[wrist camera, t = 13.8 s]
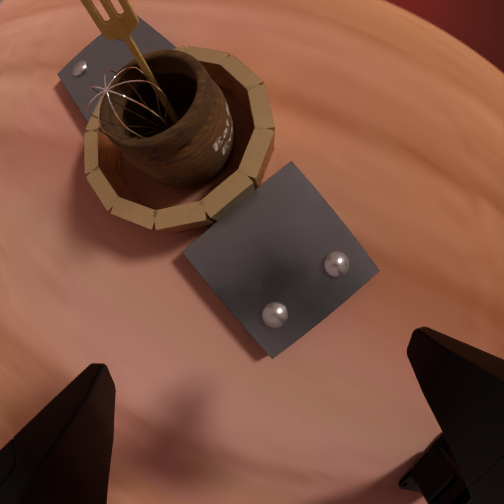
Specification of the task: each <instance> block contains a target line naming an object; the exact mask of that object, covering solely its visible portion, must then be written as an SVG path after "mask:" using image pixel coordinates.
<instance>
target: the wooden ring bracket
mask: <svg viewBox="0 0 504 504" xmlns="http://www.w3.org/2000/svg"><path fill="white" fill-rule="evenodd" d="M137 17H138V16H137ZM138 19H139V23H138V26H137V27H136V28H135V29H134V30H133V32H132V33H131V37H132V39H133V41H134V42H135V44H136V46H137V47H138V49H139V51H140V53H141V54H142V55H143V54H146V53H149V52H152V51H157V50H165V49H170V50H178V51H182V52H185V53H188V54H189V55H191V56H193V57H194V58H196V59H197V60H198V61H199V62H200V63H201V65H202V66H203V67H204V68H205V69H206V71H207V72H208V74H209V76H210V78H211V79H212V80H213V81H214V82H215V83H216V84H217V85H218V86H219V87H221V88H225V89H228V90H229V91H230V92H231V93H232V94H233V95H234V96H235V97H236V98H237V99H238V100H239V101H240V102H241V103H242V104H243V105H244V106H245V107H246V108H247V109H248V110H249V111H250V112H251V116H252V121H253V126H254V131H253V134H252V136H251V138H250V141H249V143H248V146H247V148H246V151H245V153H244V156H243V158H242V161H241V163H240V166H239V168H238V170H237V171H235V172H234V173H233V174H232V175H231V176H229V177H228V178H227V179H226V180H224V181H223V182H222V183H221V184H220V185H218V186H217V187H216V188H215V189H214V190H212V191H211V192H210V193H209V194H208V195H207V196H205V197H204V198H203V199H202V200H201V201H197V202H192V203H187V204H182V205H178V206H173V207H168V208H164V209H159V210H156V209H153V208H150V207H147V206H145V205H142V204H140V203H139V201H138V200H137V199H136V197H135V196H134V194H133V193H132V192H131V190H130V189H129V187H128V186H127V185H126V183H125V182H124V180H123V179H122V178H121V165H120V150H119V149H118V148H117V147H116V146H115V145H114V144H113V143H112V142H111V141H110V139H109V138H108V137H107V135H106V134H105V132H104V131H103V130H102V129H101V127H100V125H99V120H98V119H97V118H98V110H99V105H100V102H101V99H102V95H99V96H97V97H96V98H95V99H94V100H93V101H92V102H91V104H90V106H89V112H90V113H91V114H92V115H94V116H96V117H97V118H95V117H93V116H91V115H90V114H89V113H88V105H89V103H90V101H91V100H92V99H93V98H94V97H95V96H96V95H98V93H97V92H95V91H94V90H92V88H91V87H92V86H98V87H102V88H105V83H104V76H105V73H106V71H108V70H113V71H115V72H116V73H117V72H118V71H119V70H120V69H121V68H122V67H124V66H125V65H126V64H127V63H129V62H130V61H132V60H133V59H135V58H134V56H133V55H132V53H131V51H130V50H129V48H128V47H127V45H126V43H125V42H124V40H122V39H109V40H108V39H106V38H105V37H104V36H103V34H101V35H100V36H98V37H97V38H96V39H95V40H94V41H92V42H91V43H90V44H89V45H88V46H87V47H85V48H84V49H83V50H82V51H81V52H80V53H79V54H78V55H77V56H75V57H74V58H73V59H72V60H71V61H70V62H69V63H68V64H67V65H66V66H65V67H64V68H63V69H62V70H61V71H60V72H59V73H58V74H57V75H58V76H59V78H60V79H61V81H62V83H63V84H64V86H65V87H66V89H67V91H68V92H69V94H70V95H71V97H72V99H73V100H74V102H75V103H76V105H77V106H78V108H79V109H80V111H81V112H82V114H83V116H84V117H85V119H86V120H87V122H88V125H87V127H86V129H85V130H87V131H88V132H86V133H84V163H85V174H86V175H88V176H87V177H86V178H87V180H88V182H89V183H90V185H91V186H92V188H93V190H94V191H95V193H96V194H97V196H98V197H99V199H100V200H101V202H102V203H103V205H104V207H105V208H106V210H107V211H109V212H111V213H110V214H113V215H115V216H118V217H120V218H123V219H125V220H128V221H131V222H133V223H136V224H138V225H141V226H143V227H146V228H148V229H151V230H157V231H164V232H173V233H174V232H180V231H185V230H190V229H195V228H200V227H206V226H211V225H213V226H211V227H210V228H209V229H208V230H207V231H206V232H204V233H203V234H202V235H201V236H200V237H199V238H197V239H196V240H195V241H194V242H193V243H192V244H191V245H189V246H188V247H187V248H186V249H185V250H184V251H183V254H184V255H185V256H186V257H187V259H188V260H189V261H190V262H191V264H192V265H193V266H194V267H195V269H196V270H197V271H198V272H199V274H200V275H201V276H202V277H203V279H204V280H205V281H206V282H207V283H208V285H209V286H210V287H211V288H212V290H213V291H214V292H215V293H216V294H217V296H218V297H219V298H220V299H221V300H222V302H223V303H224V304H225V305H226V306H227V308H228V309H229V310H230V311H231V312H232V314H233V315H234V316H235V317H236V318H237V319H238V321H239V322H240V323H241V324H242V325H243V326H244V328H245V329H246V330H247V331H248V332H249V333H250V335H251V336H252V337H253V338H254V339H255V340H256V341H257V343H258V344H259V345H260V346H261V347H262V348H263V349H264V351H265V352H266V353H267V354H268V355H269V356H270V357H271V358H272V359H273V358H274V357H276V356H277V355H278V354H280V353H281V352H282V351H284V350H285V349H286V348H288V347H289V346H290V345H292V344H293V343H294V342H296V341H297V340H298V339H299V338H301V337H302V336H303V335H304V334H306V333H307V332H308V331H310V330H311V329H312V328H313V327H315V326H316V325H317V324H318V323H320V322H321V321H322V320H323V319H324V318H326V317H327V316H328V315H329V314H331V313H332V312H333V311H334V310H335V309H337V308H338V307H339V306H340V305H341V304H342V303H344V302H345V301H346V300H347V299H348V298H349V297H351V296H352V295H353V294H354V293H355V292H356V291H357V290H359V289H360V288H361V287H362V286H363V285H364V284H365V283H367V282H368V281H369V280H370V279H371V278H372V277H373V276H374V275H375V274H376V273H378V272H379V271H380V270H379V269H378V267H377V266H376V265H375V263H374V262H373V261H372V259H371V258H370V257H369V255H368V254H367V253H366V251H365V250H364V249H363V247H362V246H361V245H360V243H359V242H358V241H357V239H356V238H355V237H354V235H353V234H352V233H351V232H350V230H349V229H348V228H347V227H346V225H345V224H344V223H343V221H342V220H341V219H340V218H339V216H338V215H337V214H336V213H335V212H334V210H333V209H332V208H331V207H330V205H329V204H328V203H327V202H326V201H325V199H324V198H323V197H322V196H321V195H320V193H319V192H318V191H317V190H316V189H315V187H314V186H313V185H312V184H311V183H310V182H309V180H308V179H307V178H306V177H305V176H304V175H303V174H302V172H301V171H300V170H299V169H298V168H297V167H296V166H295V164H294V163H293V162H292V161H291V162H289V163H288V164H287V165H286V166H284V167H283V168H282V169H281V170H279V171H278V172H277V173H276V174H274V175H273V176H272V177H271V178H269V179H268V180H267V181H266V182H264V183H263V184H262V185H261V186H260V184H261V181H262V179H263V176H264V174H265V171H266V168H267V166H268V163H269V160H270V158H271V155H272V153H273V150H274V136H275V125H274V121H273V116H272V112H271V107H270V103H269V98H268V94H267V90H266V86H265V84H263V80H262V79H260V78H259V77H258V76H257V75H256V74H255V73H254V72H253V71H252V70H250V69H249V68H248V67H247V66H246V65H245V64H243V63H242V62H241V61H240V60H239V59H238V58H236V57H235V56H234V55H233V54H232V55H231V56H230V54H229V53H228V52H223V51H218V50H212V49H206V48H200V47H193V46H188V47H187V49H186V48H185V46H183V47H179V48H176V47H175V46H174V45H173V44H171V43H170V42H169V41H168V40H167V39H166V38H164V37H163V36H162V35H161V34H159V33H158V32H157V31H156V30H155V29H153V28H152V27H151V26H150V25H148V24H147V23H146V22H145V21H143V20H142V19H141V18H139V17H138ZM114 76H115V73H114V72H112V71H109V72H107V74H106V86H107V85H108V84H109V82H110V81H111V79H112V78H113V77H114ZM93 89H95V90H96V91H98V92H99V93H100V92H102V91H104V90H103V89H99V88H95V87H93ZM103 93H104V92H103ZM103 93H101V94H103ZM100 123H101V122H100ZM255 189H256V190H255ZM216 221H217V222H216Z"/></svg>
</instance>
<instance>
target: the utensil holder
mask: <svg viewBox="0 0 504 504" xmlns="http://www.w3.org/2000/svg"><path fill="white" fill-rule="evenodd" d="M118 1H119V2H120V4H121V6H122V8H123V10H124V13H122V14H118V13H117V12H116V10H115V8H114V6H113V5H112V3H111V1H110V0H100V2H101V3H102V5H103V7H104V9H105V10H106V12H107V14H108V15H109V17H110V20H108V21H104V20H103V18H102V17H101V15H100V14H99V12H98V10H97V9H96V7H95V6H94V4H93V3H92V1H91V0H81V2H82V3H83V5H84V6H85V8H86V10H87V11H88V13H89V14H90V16H91V17H92V19H93V20H94V22H95V24H96V25H97V27H98V28H99V30H100V31H101V33H102V34H103V36H104V37H105V38H106V39H108V40H109V39H122V40H124V42H125V43H126V45H127V47H128V48H129V50H130V51H131V53H132V55H133V56H134V58H135V59H133V60H132V61H130V62H129V63H127V64H126V65H125V66H124V67H122V68H121V69H120V70H119V71H118V72H117V73H116V72H115V71H113V70H108V71H106V73H105V76H104V83H105V88H102V87H98V86H92V87H91V88H92V90H94V91H95V92H97V93H98V95H96V96H95V97H94V98H93V99H92V100H91V101H90V103H89V105H88V113H89V114H90V115H91V116H93V117H95V118H97V117H96V116H94V115H92V114H91V113H90V112H89V106H90V104H91V102H92V101H93V100H94V99H95V98H96V97H97V96H99V95H102V99H101V102H100V105H99V110H98V118H97V119H98V120H99V125H100V127H101V129H102V130H103V131H104V132H105V134H106V135H107V137H108V138H109V139H110V141H111V142H112V143H113V144H114V145H115V146H116V147H117V148H118V149H119V150H120V151H121V153H122V154H123V156H124V157H125V158H126V159H127V160H128V161H129V162H130V163H131V164H132V165H133V166H135V167H136V168H138V169H139V170H141V171H142V172H144V173H145V174H147V175H149V176H151V177H152V178H154V179H156V180H158V181H160V182H162V183H164V184H167V185H169V186H174V187H181V188H187V187H194V186H198V185H201V184H204V183H206V182H208V181H210V180H211V179H213V178H214V177H215V176H217V175H218V174H219V173H220V172H221V171H222V170H223V169H224V168H225V166H226V165H227V163H228V162H229V160H230V158H231V156H232V153H233V150H234V145H235V130H234V125H233V121H232V117H231V114H230V111H229V108H228V105H227V102H226V100H225V97H224V95H223V93H222V91H221V90H220V88H219V86H218V85H217V84H216V83H215V82H214V81H213V80H212V79H211V78H210V76H209V74H208V72H207V71H206V69H205V68H204V67H203V66H202V65H201V63H200V62H199V61H198V60H197V59H196V58H194V57H193V56H191V55H189V54H188V53H185V52H182V51H178V50H170V49H165V50H157V51H152V52H149V53H146V54H143V55H142V54H141V53H140V51H139V49H138V47H137V46H136V44H135V42H134V41H133V39H132V37H131V33H132V32H133V30H134V29H135V28H136V27H137V26H138V23H139V19H138V17H137V15H136V14H135V12H134V10H133V8H132V6H131V4H130V3H129V1H128V0H118ZM109 71H112V72H114V73H115V76H114V77H113V78H112V79H111V81H110V82H109V84H108V85H107V86H106V74H107V72H109ZM93 87H95V88H99V89H103V90H104V91H102V92H100V93H99V92H98V91H96V90H95V89H93ZM103 92H104V93H103ZM101 93H103V94H101ZM100 122H101V123H100Z"/></svg>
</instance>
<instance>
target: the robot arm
mask: <svg viewBox="0 0 504 504" xmlns="http://www.w3.org/2000/svg"><path fill="white" fill-rule="evenodd" d="M407 356H408V359H409V361H410V363H411V366H412V368H413V370H414V373H415V375H416V378H417V380H418V382H419V385H420V387H421V390H422V392H423V394H424V396H425V398H426V400H427V402H428V404H429V406H430V408H431V410H432V412H433V414H434V416H435V418H436V420H437V422H438V424H439V426H440V428H441V430H442V432H443V434H442V435H441V437H440V438H439V439H438V440H437V442H436V443H435V444H434V445H433V446H432V448H431V449H430V450H429V451H428V452H427V453H426V455H425V456H424V457H423V458H422V459H421V460H420V461H419V462H418V463H417V464H416V466H415V467H414V468H413V469H412V470H411V471H410V472H409V473H408V474H407V475H406V476H405V477H404V478H403V479H402V480H401V481H400V482H399V487H400V488H401V489H407V490H413V491H419V492H421V493H422V495H423V496H424V498H425V500H426V501H427V503H428V504H504V360H503V359H501V358H498V357H496V356H494V355H491V354H489V353H487V352H484V351H482V350H480V349H477V348H475V347H473V346H470V345H468V344H466V343H463V342H461V341H459V340H456V339H454V338H452V337H449V336H447V335H444V334H442V333H440V332H437V331H435V330H433V329H430V328H428V327H421V328H417V329H415V330H414V331H413V333H412V336H411V339H410V342H409V345H408V347H407ZM115 393H116V390H115V384H114V382H113V379H112V377H111V375H110V372H109V370H108V368H107V366H106V365H105V364H101V363H92V364H90V365H89V366H88V367H87V368H86V369H85V370H84V371H83V372H81V373H80V374H79V375H78V376H77V377H76V378H75V379H74V380H73V381H72V382H71V383H70V384H69V385H67V386H66V387H65V388H64V389H63V390H62V391H61V392H60V393H59V394H58V395H57V396H56V397H55V398H54V399H53V400H52V401H51V402H49V403H48V404H47V405H46V406H45V407H44V408H43V409H42V410H41V411H40V412H39V413H38V414H37V415H36V416H35V417H34V418H33V419H32V420H31V421H30V422H29V423H28V424H27V425H25V426H24V427H23V428H22V429H21V430H20V431H19V432H18V433H17V434H16V435H15V436H14V437H13V439H11V440H10V441H9V442H8V443H7V444H6V445H5V446H4V447H3V448H2V449H1V450H0V504H107V491H108V480H109V471H110V462H111V454H112V446H113V437H114V411H115Z"/></svg>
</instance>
